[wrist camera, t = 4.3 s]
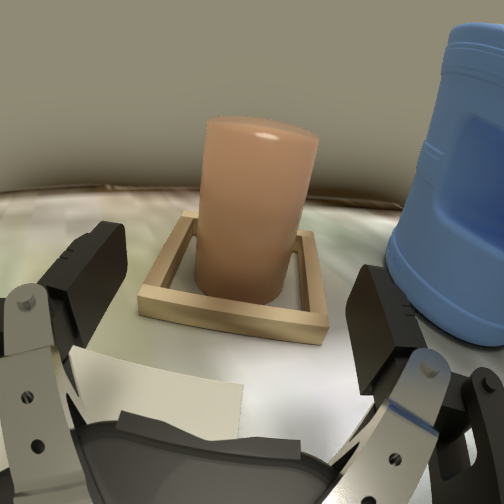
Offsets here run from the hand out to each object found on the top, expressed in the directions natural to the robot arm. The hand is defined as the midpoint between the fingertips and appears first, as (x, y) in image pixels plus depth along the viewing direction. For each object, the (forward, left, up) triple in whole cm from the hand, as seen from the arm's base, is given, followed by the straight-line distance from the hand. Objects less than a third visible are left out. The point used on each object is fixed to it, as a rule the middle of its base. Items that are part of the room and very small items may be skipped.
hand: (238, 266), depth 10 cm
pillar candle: (0, -10, -7) cm, 12 cm away
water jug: (-19, -11, -7) cm, 24 cm away
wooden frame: (0, -9, -7) cm, 11 cm away
